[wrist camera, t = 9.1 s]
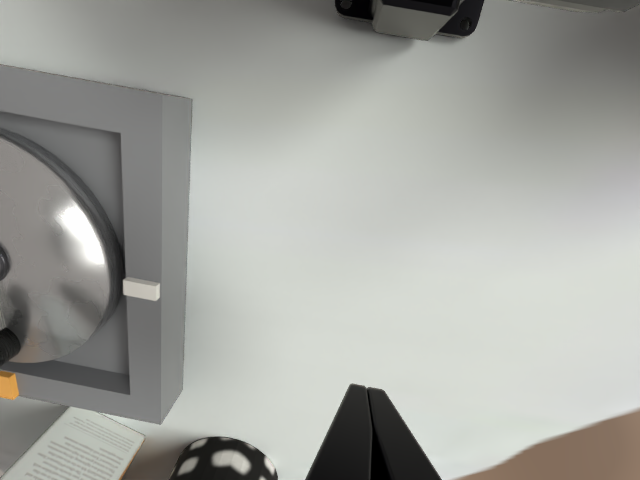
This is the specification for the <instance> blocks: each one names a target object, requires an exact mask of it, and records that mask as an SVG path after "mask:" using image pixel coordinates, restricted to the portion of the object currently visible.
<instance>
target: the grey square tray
mask: <svg viewBox="0 0 640 480" xmlns="http://www.w3.org/2000/svg"><path fill="white" fill-rule="evenodd" d="M191 121H192V99H190V98H184V97H179V96H173V95H168V94H162V93H157V92H151V91H145V90H140V89H134V88H129V87H123V86H118V85H112V84H107V83H101V82H96V81H90V80H85V79H79V78H74V77H68V76H63V75H57V74H52V73H46V72H41V71H35V70H29V69H24V68H18V67H13V66H7V65H2V64H0V128H3V129H6V130H8V131H11V132H14V133H17V134H19V135H21V136H23V137H25V138H27V139H29V140H31V141H33V142H35V143H37V144H39V145H40V146H42V147H43V148H45V149H46V150H48V151H50V152H51V153H52V154H54V155H55V156H56V157H58V158H59V159H60V160H61V161H63V162H64V163H65V164H66V165H67V166H69V167H70V168H71V169H72V170H73V171H74V172H75V173H76V174H77V175H78V176H79V177H80V178H81V179H82V180H83V182H84V183H85V184H86V185H87V186H88V188H89V189H90V190H91V191H92V192H93V194H94V195H95V197H96V198H97V200H98V201H99V202H100V204H101V205H102V207H103V209H104V211H105V212H106V214H107V216H108V218H109V220H110V222H111V224H112V226H113V229H114V231H115V234H116V236H117V239H118V243H119V246H120V250H121V255H122V262H123V286H122V293H121V296H120V300H119V303H118V306H117V308H116V309H115V311H114V313H113V315H112V317H111V318H110V319H109V321H108V322H107V323H106V324H105V325H104V326H103V327H102V328H101V329H100V330H99V331H98V332H97V333H96V334H94V335H93V336H92V337H91V338H90V339H88V340H87V341H86V342H85V343H84V344H82V345H81V346H80V347H79V348H77V349H75V350H74V351H72V352H71V353H69V354H67V355H64V356H62V357H60V358H57V359H53V360H49V361H44V362H36V363H19V362H10V361H8V362H6V363H5V364H3V365H2V366H1V367H0V397H2V398H7V399H12V400H14V399H15V398H16V397H17V396H21V397H26V398H31V399H36V400H41V401H46V402H51V403H56V404H60V405H65V406H70V407H75V408H80V409H85V410H90V411H95V412H100V413H105V414H110V415H115V416H120V417H125V418H130V419H135V420H140V421H145V422H150V423H155V424H160V425H161V424H162V422H163V421H164V419H165V417H166V416H167V414H168V412H169V411H170V409H171V408H172V406H173V404H174V403H175V401H176V400H177V398H178V396H179V395H180V393H181V392H182V390H183V360H184V330H185V300H186V270H187V241H188V211H189V181H190V151H191Z"/></svg>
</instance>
